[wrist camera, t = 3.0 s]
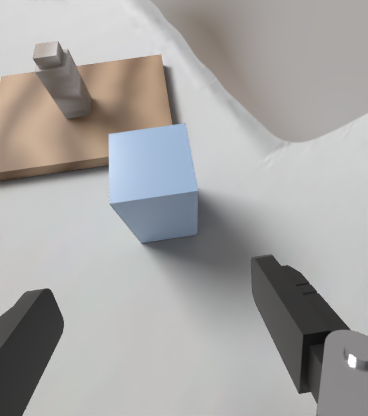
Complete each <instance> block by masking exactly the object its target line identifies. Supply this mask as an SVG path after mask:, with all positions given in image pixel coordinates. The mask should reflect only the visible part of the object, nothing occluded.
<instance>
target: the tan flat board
mask: <svg viewBox="0 0 368 416" xmlns="http://www.w3.org/2000/svg"><path fill="white" fill-rule="evenodd" d="M33 60H34V61H35V63H36V68H35V72H31V73H24V74H16V75H9V76H2V77H1V81H0V181H2V180H9V179H16V178H23V177H30V176H37V175H44V174H51V173H58V172H65V171H71V170H78V169H85V168H92V167H99V166H106V165H109V134H113V133H120V132H127V131H134V130H141V129H148V128H155V127H162V126H169V125H172V120H171V114H170V107H169V101H168V94H167V88H166V82H165V75H164V69H163V63H162V56H161V55H154V56H147V57H139V58H132V59H125V60H118V61H110V62H103V63H96V64H89V65H82V66H76V65H75V63H74V61H73V58H72V56H71V54H70V52H69V50H68V49H62V48H61V46H60V44H59V42H58V41H55V42H47V43H40V44H36V45H35V50H34V55H33Z"/></svg>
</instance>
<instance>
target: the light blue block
mask: <svg viewBox="0 0 368 416" xmlns="http://www.w3.org/2000/svg"><path fill="white" fill-rule="evenodd" d="M109 204H110V205H111V206H112V208H113V209H114V210H115V211H116V213H117V214H118V215H119V216H120V218H121V219H122V220H123V221H124V223H125V224H126V225H127V226H128V227H129V229H130V230H131V231H132V232H133V234H134V235H135V236H136V237H137V239H138V240H139V241H140V242H141V243H145V242H152V241H158V240H165V239H172V238H178V237H185V236H192V235H197V228H198V187H197V181H196V176H195V171H194V165H193V160H192V155H191V150H190V144H189V139H188V134H187V128H186V123H183V124H176V125H169V126H162V127H155V128H148V129H141V130H134V131H127V132H120V133H113V134H109Z"/></svg>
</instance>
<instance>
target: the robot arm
mask: <svg viewBox="0 0 368 416" xmlns="http://www.w3.org/2000/svg"><path fill="white" fill-rule="evenodd" d="M251 274H252V292H253V297H254V301H255V303H256V306H257V308H258V310H259V312H260V314H261V316H262V318H263V320H264V322H265V324H266V327H267V329H268V331H269V333H270V335H271V337H272V339H273V341H274V343H275V345H276V347H277V349H278V351H279V353H280V356H281V358H282V360H283V362H284V364H285V366H286V368H287V370H288V372H289V374H290V376H291V378H292V380H293V383H294V385H295V387H296V389H297V391H298V393H299V394H301V393H307V392H311V393H312V395H313V397H314V399H315V401H316V402H317V404H318V405H317V414H316V416H368V336H366V335H364V334H362V333H359V332H355V331H351V330H350V329H349V327H348V326H347V325H346V324H345V323H344V322H343V321H342V319H341V318H340V317H339V316H338V315H337V314H336V313H335V311H334V310H333V309H332V308H331V307H330V306H329V305H328V303H327V302H326V301H325V300H324V299H323V298H322V297H321V295H320V294H319V293H317V291H316V290H315V289H314V288H313V286H312V285H310V284H309V282H308V281H307V280H306V278H305V277H304V276H303V275H302V274H301V273H300V272H298V271H297V270H295V269H293V268H292V267H290V266H288V265H287V266H281V265H280V264H279V263H278V262H277V260H276V259H275V258H274V257H273V255H264V256H258V257H252V259H251ZM63 328H64V320H63V317H62V314H61V312H60V310H59V307H58V305H57V302H56V300H55V298H54V295H53V293H52V291H51V290H50V289H40V290H34V291H27V292H25V293H24V294H23V295H22V296H21V298H20V299H19V300H18V301H17V302H16V304H15V305H14V306H13V307H12V308H10V309H9V310H8V311H7V312H5V313H4V314H3V315H2V316H0V416H22V415H23V413H24V411H25V409H26V407H27V405H28V403H29V401H30V399H31V397H32V395H33V393H34V390H35V388H36V386H37V384H38V382H39V380H40V378H41V376H42V374H43V372H44V370H45V368H46V366H47V364H48V362H49V360H50V358H51V356H52V354H53V352H54V350H55V348H56V346H57V344H58V342H59V339H60V337H61V335H62V333H63Z"/></svg>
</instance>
